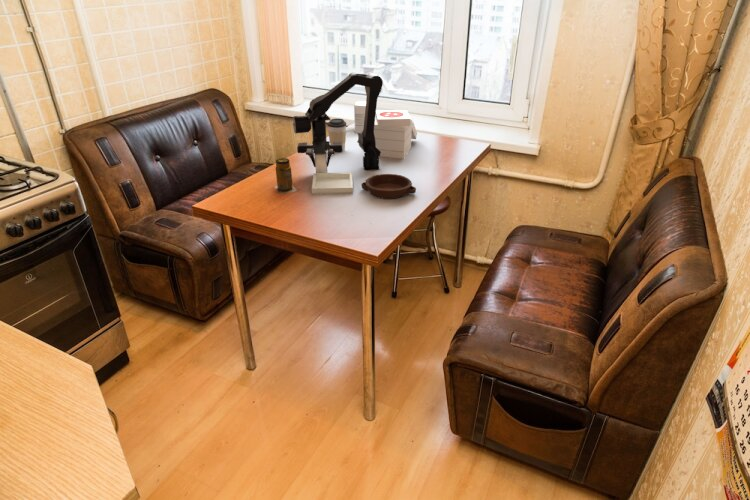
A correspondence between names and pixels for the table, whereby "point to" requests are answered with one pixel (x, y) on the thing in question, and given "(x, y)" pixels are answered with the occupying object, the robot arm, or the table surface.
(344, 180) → the tray
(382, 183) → the dish
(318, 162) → the jar
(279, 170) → the condiment
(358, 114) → the supplement box
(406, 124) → the pizza boxes
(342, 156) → the table surface
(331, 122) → the coffee cup
